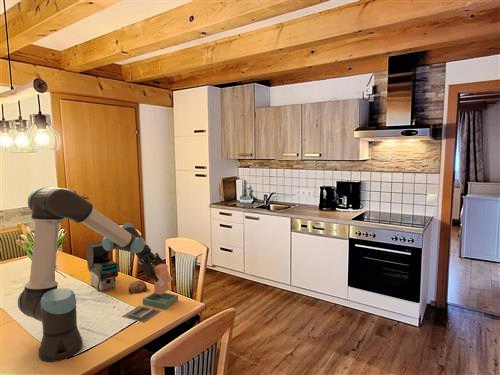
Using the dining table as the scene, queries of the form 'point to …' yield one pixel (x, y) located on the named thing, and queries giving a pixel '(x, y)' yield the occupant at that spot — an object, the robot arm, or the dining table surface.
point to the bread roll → (137, 287)
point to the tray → (160, 300)
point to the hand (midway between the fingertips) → (166, 283)
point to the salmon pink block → (163, 274)
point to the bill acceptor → (101, 267)
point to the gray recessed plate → (141, 314)
